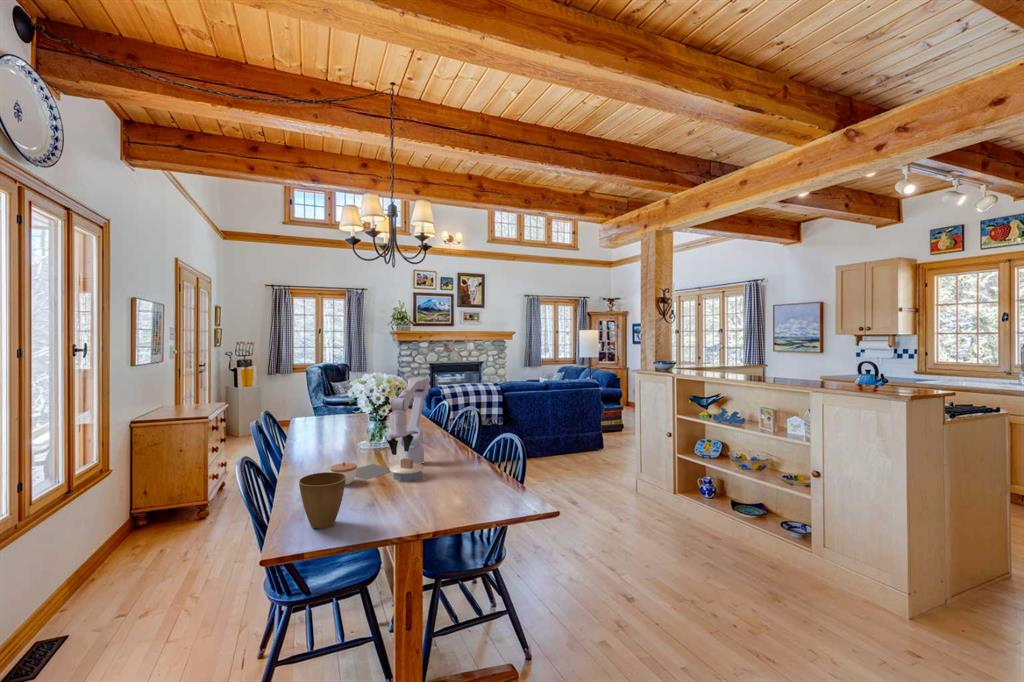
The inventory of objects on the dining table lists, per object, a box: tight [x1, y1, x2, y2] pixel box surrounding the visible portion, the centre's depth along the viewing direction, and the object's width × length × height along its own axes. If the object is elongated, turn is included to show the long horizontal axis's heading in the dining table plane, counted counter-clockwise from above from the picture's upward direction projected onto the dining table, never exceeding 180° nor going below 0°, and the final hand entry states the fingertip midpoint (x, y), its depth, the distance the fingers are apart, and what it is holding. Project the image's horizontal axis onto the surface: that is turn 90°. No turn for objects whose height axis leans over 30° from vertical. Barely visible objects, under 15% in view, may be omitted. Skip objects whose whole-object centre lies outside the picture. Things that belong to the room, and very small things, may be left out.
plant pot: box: [298, 471, 346, 529], centre depth 164 cm, size 15×15×16 cm
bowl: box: [393, 470, 423, 483], centre depth 218 cm, size 12×12×4 cm
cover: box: [389, 458, 425, 474], centre depth 218 cm, size 15×15×4 cm
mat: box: [355, 463, 391, 480], centre depth 226 cm, size 18×18×1 cm
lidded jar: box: [330, 461, 358, 486], centre depth 208 cm, size 11×11×9 cm
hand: (400, 452), depth 224 cm, fingers open, 7 cm apart
